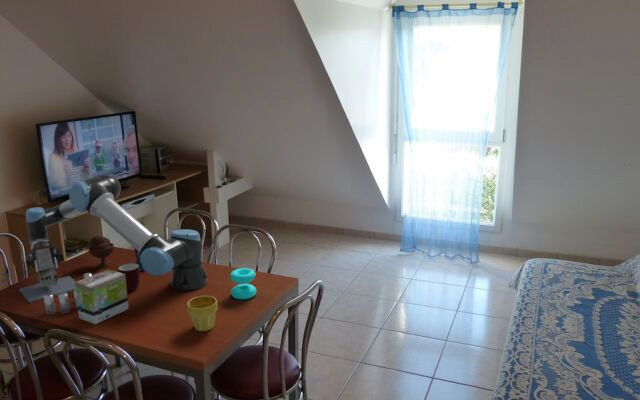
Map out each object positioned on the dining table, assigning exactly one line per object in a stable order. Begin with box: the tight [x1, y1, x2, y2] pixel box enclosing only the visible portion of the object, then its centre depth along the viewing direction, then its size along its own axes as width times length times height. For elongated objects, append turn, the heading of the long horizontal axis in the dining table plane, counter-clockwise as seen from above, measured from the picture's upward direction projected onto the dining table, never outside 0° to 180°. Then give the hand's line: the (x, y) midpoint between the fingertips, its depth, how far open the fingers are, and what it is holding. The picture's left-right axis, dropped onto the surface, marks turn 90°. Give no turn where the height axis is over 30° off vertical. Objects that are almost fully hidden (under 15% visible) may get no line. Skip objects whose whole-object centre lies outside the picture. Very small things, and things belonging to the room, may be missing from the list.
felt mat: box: [18, 275, 76, 304], centre depth 237 cm, size 16×20×1 cm
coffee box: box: [34, 240, 58, 287], centre depth 234 cm, size 9×6×16 cm
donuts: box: [229, 267, 258, 300], centre depth 228 cm, size 10×10×10 cm
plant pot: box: [186, 295, 219, 332], centre depth 203 cm, size 10×10×10 cm
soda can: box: [133, 247, 145, 271], centre depth 257 cm, size 7×7×12 cm
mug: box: [118, 262, 141, 293], centre depth 234 cm, size 10×8×10 cm
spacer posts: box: [43, 272, 93, 315], centre depth 225 cm, size 17×21×7 cm
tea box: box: [75, 269, 129, 325], centre depth 214 cm, size 15×10×15 cm, turn 148°
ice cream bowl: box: [88, 234, 115, 269], centre depth 260 cm, size 11×11×15 cm
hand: (46, 266), depth 230 cm, fingers closed on coffee box, 6 cm apart
